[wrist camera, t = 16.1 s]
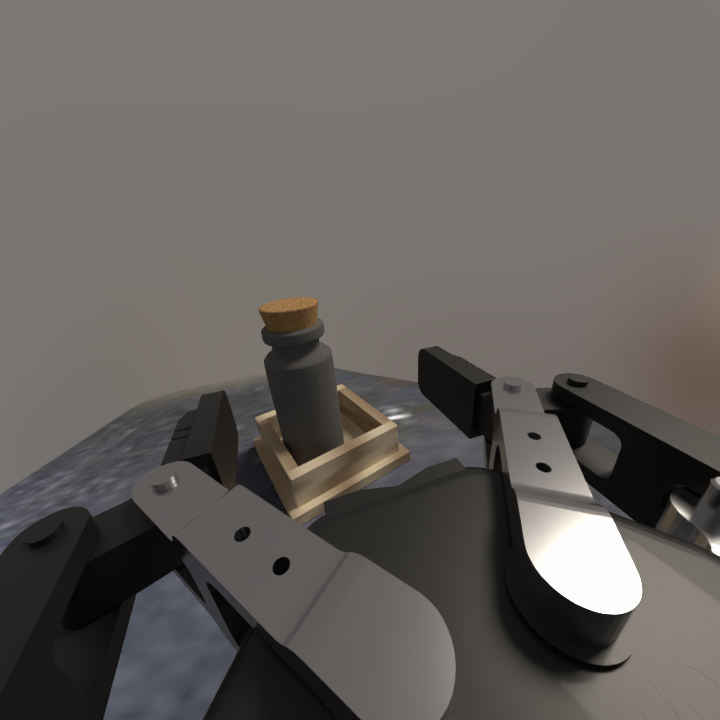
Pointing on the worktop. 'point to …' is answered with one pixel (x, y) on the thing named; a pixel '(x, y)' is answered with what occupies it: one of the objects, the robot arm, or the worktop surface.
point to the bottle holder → (331, 458)
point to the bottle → (301, 378)
